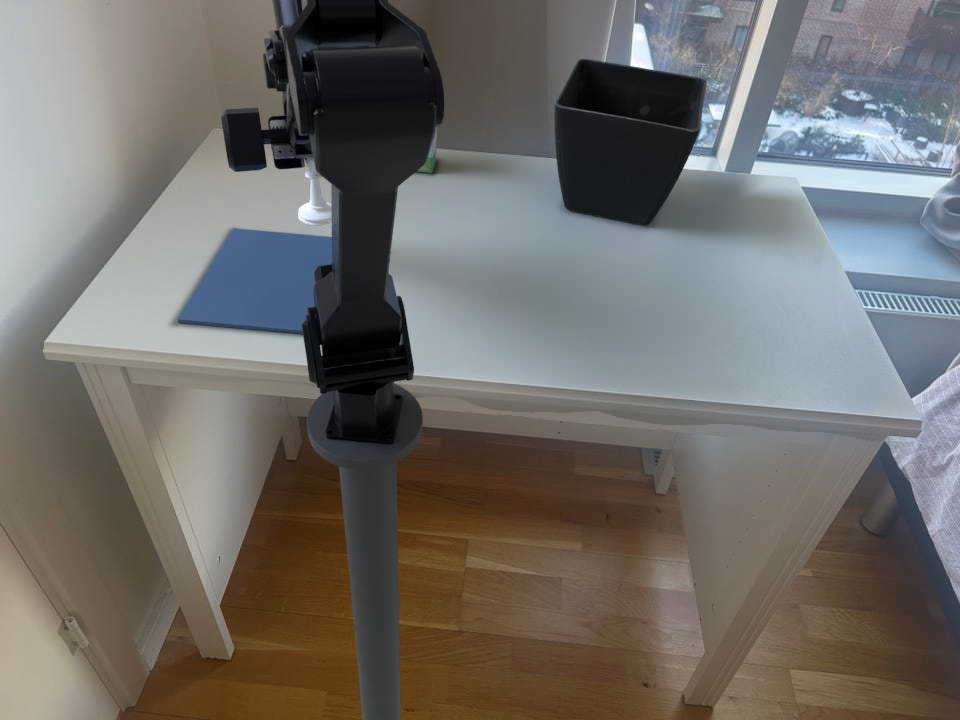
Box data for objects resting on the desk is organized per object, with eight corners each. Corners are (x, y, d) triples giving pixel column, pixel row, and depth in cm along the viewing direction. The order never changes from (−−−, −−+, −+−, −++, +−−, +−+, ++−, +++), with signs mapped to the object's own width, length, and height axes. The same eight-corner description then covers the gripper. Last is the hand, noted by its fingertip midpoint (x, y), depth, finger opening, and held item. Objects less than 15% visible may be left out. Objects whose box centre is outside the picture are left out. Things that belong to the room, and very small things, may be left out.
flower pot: (670, 243, 104) (701, 128, 93) (538, 217, 107) (553, 103, 96) (679, 184, 118) (707, 77, 107) (563, 162, 121) (578, 57, 110)
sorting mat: (318, 335, 84) (318, 332, 83) (178, 322, 84) (177, 319, 84) (353, 242, 99) (353, 238, 99) (234, 231, 99) (233, 228, 99)
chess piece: (346, 214, 93) (341, 138, 86) (319, 230, 90) (311, 152, 83) (317, 202, 95) (310, 126, 88) (289, 217, 92) (279, 140, 85)
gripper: (395, 27, 77) (378, 93, 92) (206, 32, 72) (221, 101, 87) (412, 131, 76) (392, 180, 91) (223, 143, 71) (234, 193, 87)
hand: (311, 161), depth 89 cm, fingers closed on chess piece
